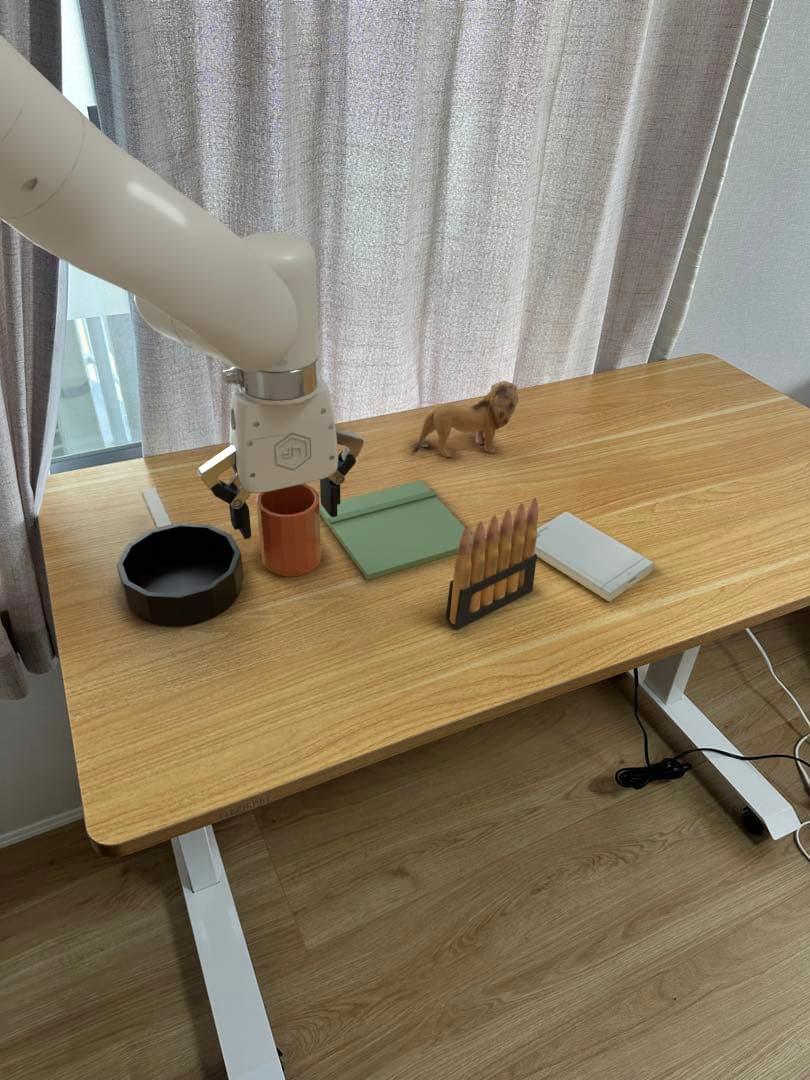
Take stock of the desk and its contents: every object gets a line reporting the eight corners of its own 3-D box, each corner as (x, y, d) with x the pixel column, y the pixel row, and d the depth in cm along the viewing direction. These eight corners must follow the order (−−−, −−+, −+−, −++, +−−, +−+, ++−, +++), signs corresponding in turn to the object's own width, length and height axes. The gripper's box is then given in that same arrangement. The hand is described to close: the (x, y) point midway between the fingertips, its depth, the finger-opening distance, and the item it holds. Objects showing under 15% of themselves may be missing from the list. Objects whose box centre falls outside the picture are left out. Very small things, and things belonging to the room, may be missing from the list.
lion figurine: (502, 431, 114) (510, 372, 108) (519, 449, 110) (528, 390, 104) (405, 446, 109) (407, 386, 104) (419, 466, 106) (422, 405, 100)
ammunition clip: (456, 630, 81) (465, 536, 74) (444, 620, 82) (452, 526, 75) (532, 591, 87) (548, 499, 79) (520, 581, 88) (535, 490, 80)
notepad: (367, 580, 87) (367, 572, 86) (318, 511, 97) (317, 504, 96) (478, 547, 92) (478, 539, 92) (421, 485, 102) (421, 478, 101)
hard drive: (522, 536, 92) (611, 591, 84) (567, 510, 96) (655, 560, 89) (520, 547, 93) (608, 603, 85) (565, 521, 97) (652, 571, 90)
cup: (274, 583, 86) (269, 522, 81) (254, 548, 91) (248, 489, 86) (330, 566, 89) (328, 507, 84) (308, 534, 93) (305, 476, 88)
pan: (139, 641, 79) (132, 610, 76) (100, 529, 93) (93, 500, 90) (257, 606, 83) (254, 576, 81) (203, 504, 97) (199, 476, 95)
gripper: (199, 407, 70) (218, 561, 80) (378, 374, 77) (375, 520, 87) (177, 372, 75) (197, 521, 86) (347, 344, 82) (347, 485, 92)
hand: (287, 520), depth 86 cm, fingers open, 9 cm apart
